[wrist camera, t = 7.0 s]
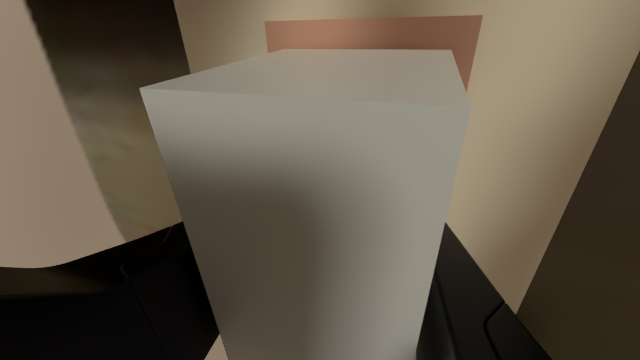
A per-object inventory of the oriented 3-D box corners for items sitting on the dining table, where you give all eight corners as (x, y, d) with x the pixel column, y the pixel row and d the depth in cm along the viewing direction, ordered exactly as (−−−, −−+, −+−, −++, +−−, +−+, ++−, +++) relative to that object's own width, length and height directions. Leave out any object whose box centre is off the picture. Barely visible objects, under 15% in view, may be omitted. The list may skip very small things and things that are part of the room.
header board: (689, -156, 6) (1196, -487, 2) (475, 360, 15) (489, 485, 11) (189, -79, 9) (14, -140, 5) (262, 299, 18) (216, 377, 14)
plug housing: (451, 50, 7) (471, 107, 3) (406, 302, 12) (390, 461, 8) (284, 48, 8) (139, 88, 4) (303, 276, 13) (242, 400, 9)
